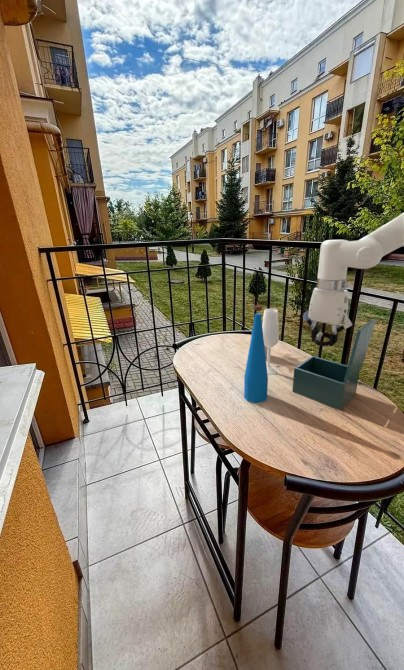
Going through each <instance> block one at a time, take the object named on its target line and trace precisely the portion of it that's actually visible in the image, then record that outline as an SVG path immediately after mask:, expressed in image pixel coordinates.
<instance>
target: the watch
mask: <svg viewBox="0 0 404 670" xmlns="http://www.w3.org/2000/svg"><path fill="white" fill-rule="evenodd" d="M330 334H331V333H330V332H322V331H319V333H318V334H317V336H316V338H315V341H314V342H313V343H314V344H315V345H317V346H319V347H329V341H330ZM322 338H327V339H329V340H328V341H322V340H321V339H322Z"/></svg>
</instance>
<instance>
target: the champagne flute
mask: <svg viewBox="0 0 404 670" xmlns="http://www.w3.org/2000/svg"><path fill="white" fill-rule="evenodd" d="M262 322H263V323H262V328H263V338H264V345H265V346H266V347H267V348H268V349H267V357H266V365H267V375H268V376H272V375H275V374H277V373H278V371H277V368H274V367H273V366H271V352H272V348H273V347H275V346H276V345H277V344H279V341H280V330H279V325H278V324H279V310H278V309H276V308H265V309H264V310H263V316H262Z"/></svg>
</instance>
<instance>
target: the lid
mask: <svg viewBox="0 0 404 670" xmlns="http://www.w3.org/2000/svg"><path fill="white" fill-rule="evenodd" d="M376 321H377V319H375V318H372V319H371V320H370V321H368V322H366V323H365V324H364V325H363V326H361V327H360V328H358V329H357V331H356V335H355V338H354V342H353V345H352V350H351V354H350V358H349V361H348V364H347V366H348V368H347V372H346V375H345V379H344V383H346V384H347V383H348V382H349V381H350V380H351V379H352V378H353V377H354V376H355V375H356V374H357V373H358V372H359V371H360V372H361V370H362V368H363V365H364V362H365V358H366V355H367V352H368V348H369V345H370V342H371V339H372V334H373V332H374V327H375V326H376V325H375V324H376ZM360 372H359V373H360Z"/></svg>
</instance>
